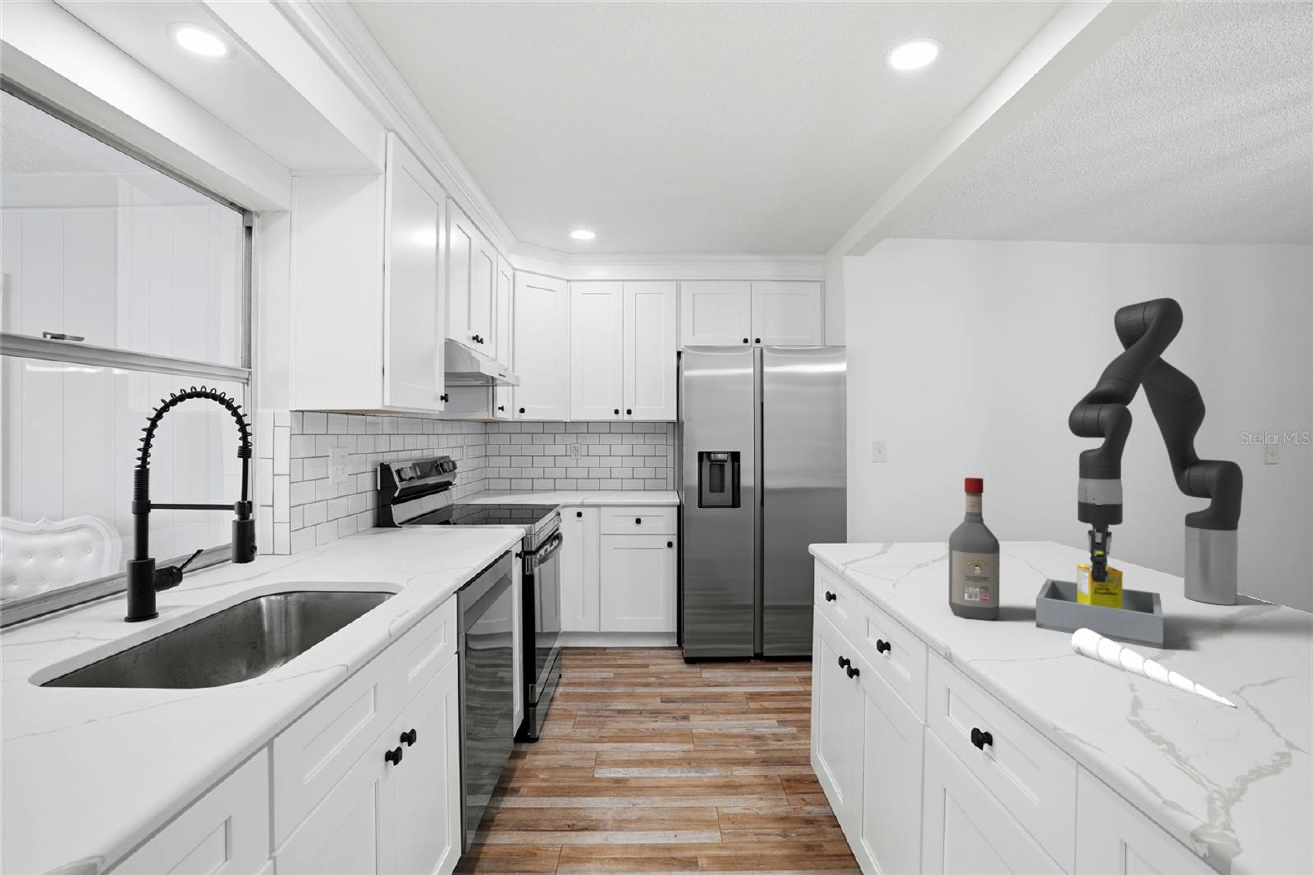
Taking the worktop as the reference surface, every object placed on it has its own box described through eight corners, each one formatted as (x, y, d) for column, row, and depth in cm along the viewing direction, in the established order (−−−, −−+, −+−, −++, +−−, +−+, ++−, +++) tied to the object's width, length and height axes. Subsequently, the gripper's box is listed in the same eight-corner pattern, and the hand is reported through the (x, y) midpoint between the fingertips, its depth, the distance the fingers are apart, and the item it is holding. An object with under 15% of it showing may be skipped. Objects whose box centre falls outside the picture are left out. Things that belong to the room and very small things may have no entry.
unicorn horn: (1217, 713, 87) (1218, 680, 87) (1068, 654, 110) (1068, 627, 110) (1241, 709, 88) (1242, 677, 88) (1088, 651, 111) (1089, 625, 111)
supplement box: (1123, 625, 121) (1123, 571, 121) (1089, 622, 123) (1089, 569, 123) (1108, 616, 127) (1108, 564, 127) (1076, 614, 129) (1076, 563, 128)
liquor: (1001, 622, 127) (1002, 480, 126) (953, 617, 130) (954, 479, 129) (992, 609, 135) (992, 477, 135) (947, 605, 138) (948, 476, 138)
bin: (1046, 604, 139) (1047, 578, 139) (1159, 621, 127) (1159, 593, 126) (1035, 627, 123) (1036, 598, 123) (1162, 649, 111) (1163, 616, 111)
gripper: (1079, 495, 132) (1080, 568, 133) (1075, 502, 121) (1075, 582, 121) (1122, 497, 128) (1123, 573, 128) (1122, 505, 117) (1122, 588, 117)
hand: (1099, 577), depth 125 cm, fingers open, 8 cm apart
